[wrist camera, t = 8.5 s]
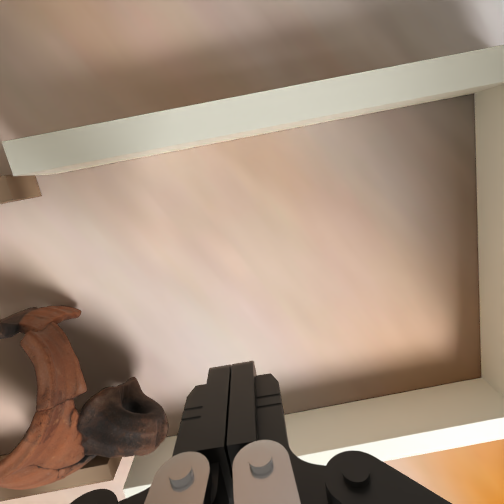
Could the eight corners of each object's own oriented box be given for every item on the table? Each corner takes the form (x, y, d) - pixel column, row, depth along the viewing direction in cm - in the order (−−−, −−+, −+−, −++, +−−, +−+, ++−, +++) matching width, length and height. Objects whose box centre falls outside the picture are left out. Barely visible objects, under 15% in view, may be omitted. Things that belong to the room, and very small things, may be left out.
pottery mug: (20, 443, 24) (-129, 495, 16) (54, 305, 26) (-63, 290, 18) (184, 479, 21) (104, 563, 13) (206, 323, 23) (149, 315, 15)
